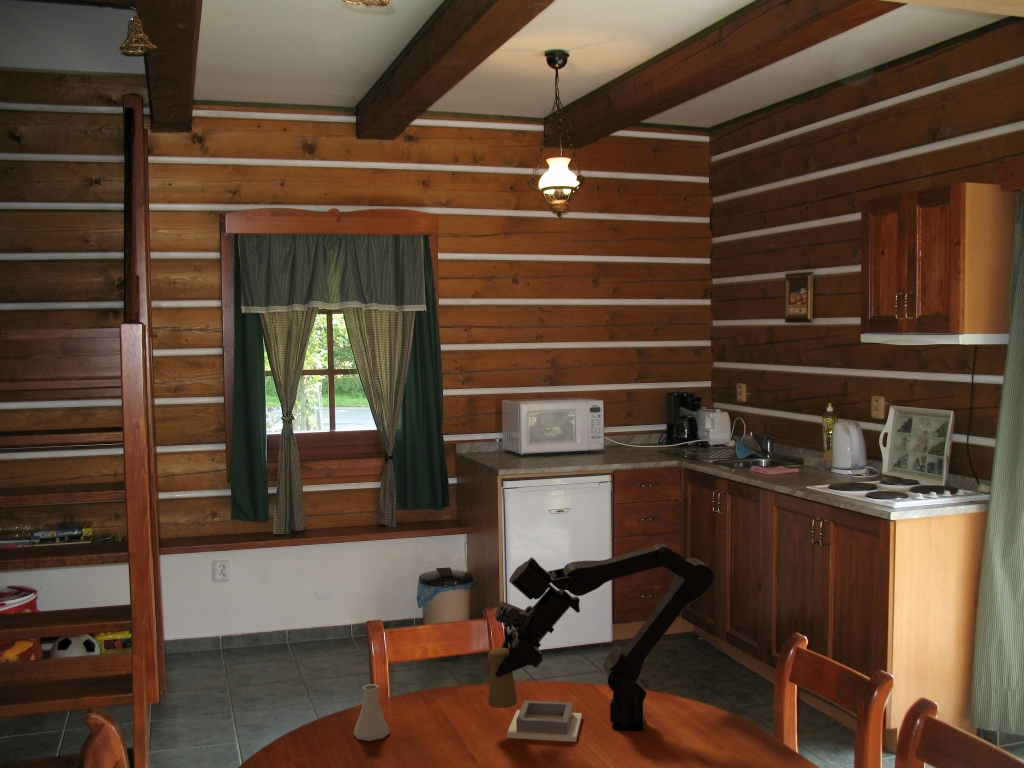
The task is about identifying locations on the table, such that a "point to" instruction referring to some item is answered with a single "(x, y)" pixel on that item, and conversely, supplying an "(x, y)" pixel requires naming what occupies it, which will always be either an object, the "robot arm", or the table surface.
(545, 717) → the socket
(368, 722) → the flask
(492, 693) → the cork
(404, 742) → the table surface
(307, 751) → the table surface
